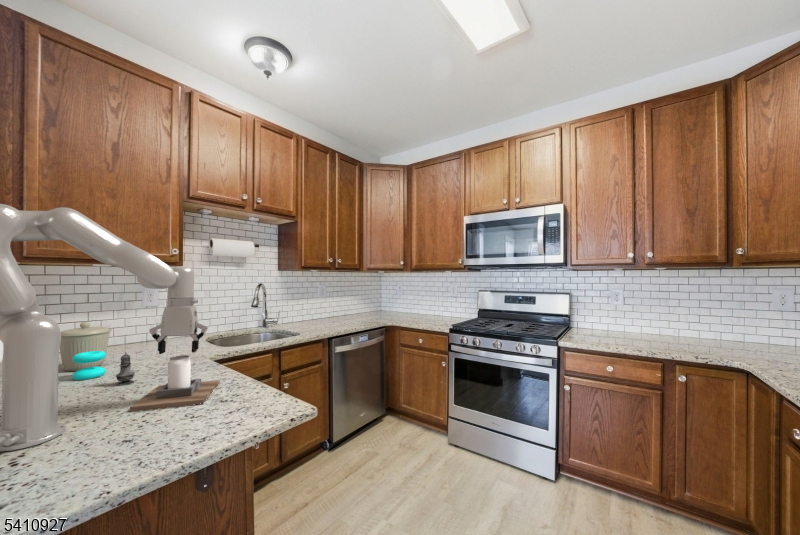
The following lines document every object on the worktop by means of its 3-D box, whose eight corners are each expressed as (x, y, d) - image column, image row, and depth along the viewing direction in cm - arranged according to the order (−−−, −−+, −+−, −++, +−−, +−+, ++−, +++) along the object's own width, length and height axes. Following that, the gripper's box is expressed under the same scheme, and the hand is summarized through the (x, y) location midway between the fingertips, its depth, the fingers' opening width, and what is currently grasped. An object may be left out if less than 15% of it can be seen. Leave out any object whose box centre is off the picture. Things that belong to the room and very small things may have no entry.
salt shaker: (123, 386, 121) (123, 354, 121) (111, 385, 122) (111, 354, 122) (139, 381, 126) (139, 350, 127) (127, 380, 128) (127, 350, 128)
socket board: (203, 404, 103) (203, 391, 103) (129, 411, 98) (129, 398, 98) (219, 384, 122) (219, 373, 123) (159, 389, 117) (159, 378, 117)
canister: (71, 364, 151) (71, 320, 151) (118, 360, 157) (119, 318, 158) (44, 376, 134) (45, 325, 135) (98, 371, 140) (99, 323, 141)
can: (174, 396, 106) (174, 360, 106) (163, 393, 109) (164, 358, 109) (194, 390, 111) (194, 356, 112) (183, 387, 114) (184, 354, 115)
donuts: (103, 353, 131) (69, 357, 126) (102, 378, 131) (68, 382, 125) (108, 349, 140) (76, 352, 134) (108, 372, 139) (76, 376, 134)
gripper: (211, 301, 117) (209, 349, 116) (156, 302, 112) (154, 351, 111) (204, 303, 110) (203, 353, 109) (145, 303, 105) (143, 356, 104)
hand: (178, 352), depth 110 cm, fingers open, 9 cm apart
